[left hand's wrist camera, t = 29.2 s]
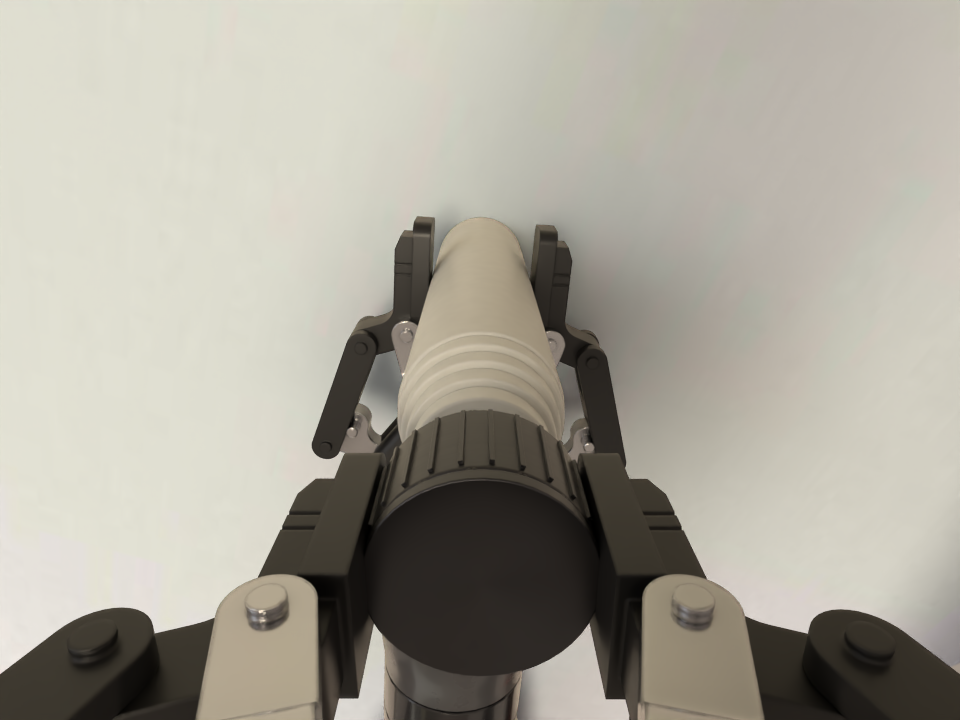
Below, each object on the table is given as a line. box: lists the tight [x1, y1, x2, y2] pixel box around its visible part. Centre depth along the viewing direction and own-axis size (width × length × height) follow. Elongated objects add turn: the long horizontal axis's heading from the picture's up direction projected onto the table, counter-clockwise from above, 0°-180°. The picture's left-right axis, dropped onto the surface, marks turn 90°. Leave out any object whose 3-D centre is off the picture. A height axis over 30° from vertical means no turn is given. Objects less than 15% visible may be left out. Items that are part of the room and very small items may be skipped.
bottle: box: [397, 217, 564, 443], centre depth 22 cm, size 4×4×24 cm
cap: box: [364, 409, 600, 676], centre depth 11 cm, size 4×4×2 cm
